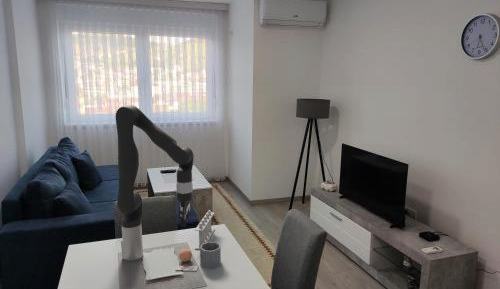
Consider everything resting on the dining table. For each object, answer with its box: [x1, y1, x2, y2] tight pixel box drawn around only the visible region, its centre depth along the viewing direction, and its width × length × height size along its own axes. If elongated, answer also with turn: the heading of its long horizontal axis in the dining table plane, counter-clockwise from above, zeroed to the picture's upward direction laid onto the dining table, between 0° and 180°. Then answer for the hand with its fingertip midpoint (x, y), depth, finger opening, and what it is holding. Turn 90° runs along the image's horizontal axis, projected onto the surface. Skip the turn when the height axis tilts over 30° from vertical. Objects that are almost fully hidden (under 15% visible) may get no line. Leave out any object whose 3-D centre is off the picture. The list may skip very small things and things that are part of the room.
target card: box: [179, 265, 199, 272], centre depth 163 cm, size 10×4×1 cm, turn 88°
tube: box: [199, 241, 222, 270], centre depth 166 cm, size 9×9×9 cm
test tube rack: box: [194, 209, 216, 251], centre depth 192 cm, size 25×4×13 cm, turn 172°
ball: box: [178, 248, 193, 263], centre depth 169 cm, size 6×6×6 cm
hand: (185, 222), depth 166 cm, fingers open, 8 cm apart
